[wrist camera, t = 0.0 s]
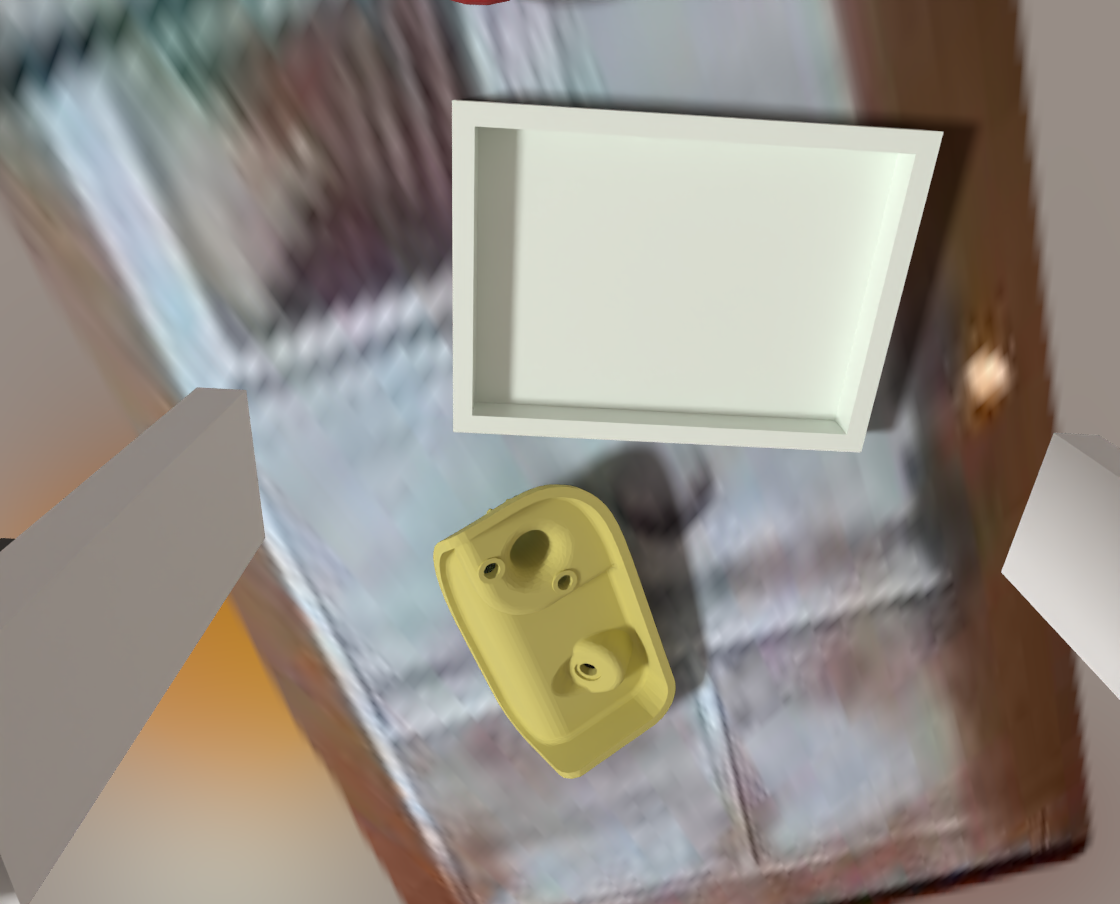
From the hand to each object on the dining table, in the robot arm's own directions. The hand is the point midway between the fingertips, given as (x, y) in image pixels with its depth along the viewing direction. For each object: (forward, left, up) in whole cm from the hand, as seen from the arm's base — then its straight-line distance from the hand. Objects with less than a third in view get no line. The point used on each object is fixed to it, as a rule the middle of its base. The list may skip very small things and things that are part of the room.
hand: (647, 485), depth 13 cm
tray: (+3, +5, -28) cm, 29 cm away
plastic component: (+23, 0, -28) cm, 36 cm away
